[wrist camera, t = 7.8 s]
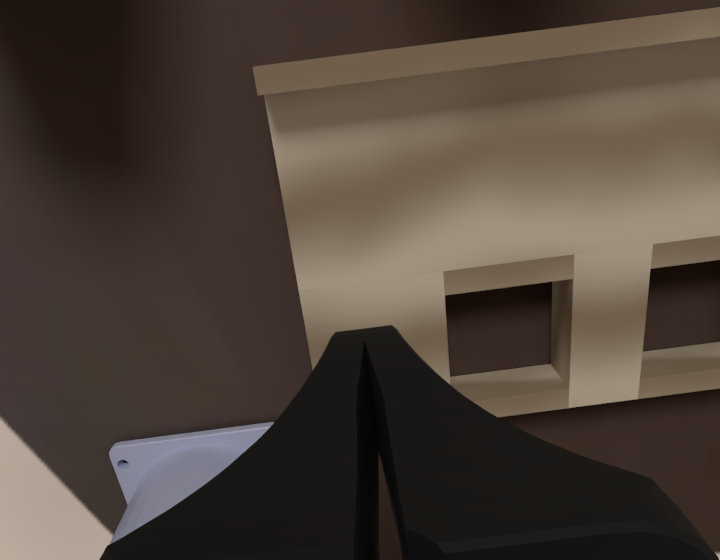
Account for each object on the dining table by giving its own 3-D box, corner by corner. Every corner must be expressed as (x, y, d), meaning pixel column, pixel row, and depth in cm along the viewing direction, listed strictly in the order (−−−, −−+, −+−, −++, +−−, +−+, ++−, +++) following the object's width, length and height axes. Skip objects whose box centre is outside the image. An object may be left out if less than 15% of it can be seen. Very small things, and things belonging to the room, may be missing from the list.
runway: (833, 359, 24) (911, 403, 21) (328, 425, 24) (327, 480, 21) (930, -16, 18) (1057, -36, 15) (266, 68, 18) (252, 66, 15)
